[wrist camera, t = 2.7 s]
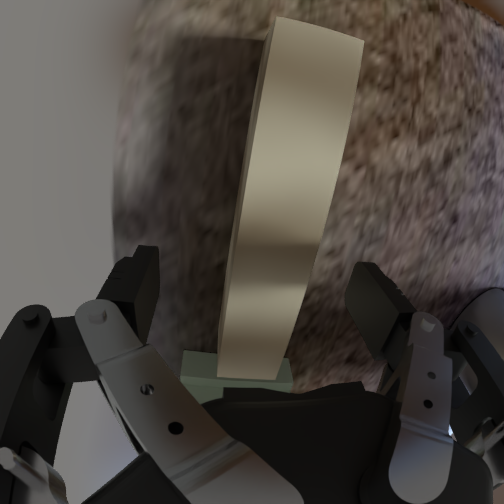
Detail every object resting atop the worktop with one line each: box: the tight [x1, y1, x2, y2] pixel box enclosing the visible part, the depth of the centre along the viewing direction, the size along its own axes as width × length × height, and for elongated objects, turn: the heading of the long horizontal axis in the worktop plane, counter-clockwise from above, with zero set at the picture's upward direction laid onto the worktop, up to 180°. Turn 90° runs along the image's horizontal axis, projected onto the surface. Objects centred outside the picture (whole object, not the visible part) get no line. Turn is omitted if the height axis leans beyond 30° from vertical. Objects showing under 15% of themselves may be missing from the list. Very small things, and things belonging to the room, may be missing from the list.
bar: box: [217, 16, 364, 380], centre depth 14 cm, size 18×4×4 cm, turn 171°
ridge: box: [180, 350, 294, 404], centre depth 20 cm, size 5×8×4 cm, turn 80°
